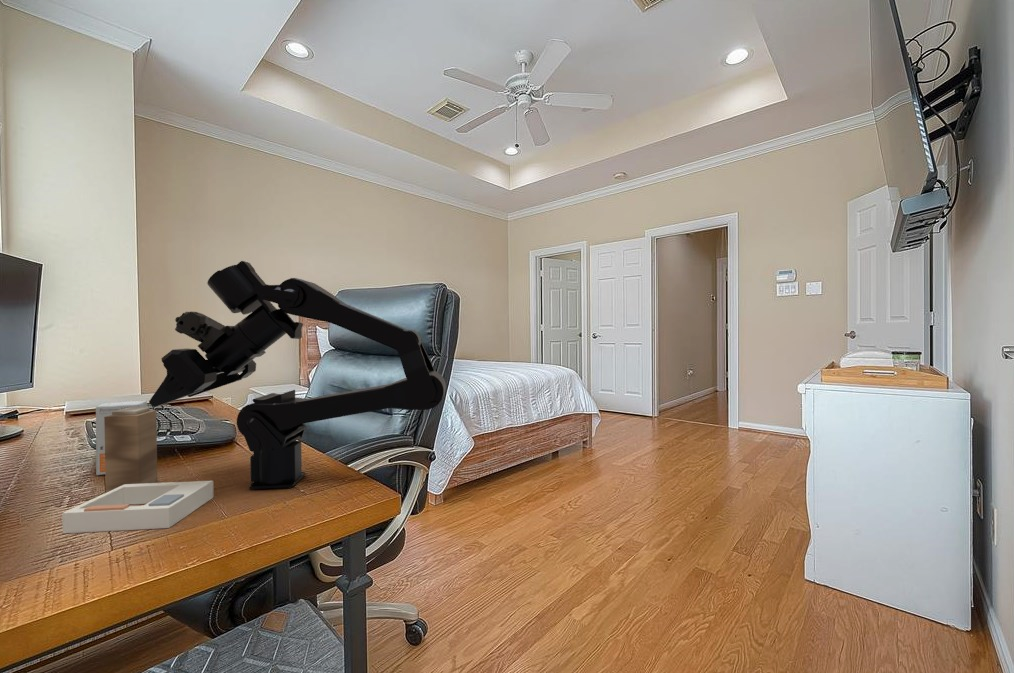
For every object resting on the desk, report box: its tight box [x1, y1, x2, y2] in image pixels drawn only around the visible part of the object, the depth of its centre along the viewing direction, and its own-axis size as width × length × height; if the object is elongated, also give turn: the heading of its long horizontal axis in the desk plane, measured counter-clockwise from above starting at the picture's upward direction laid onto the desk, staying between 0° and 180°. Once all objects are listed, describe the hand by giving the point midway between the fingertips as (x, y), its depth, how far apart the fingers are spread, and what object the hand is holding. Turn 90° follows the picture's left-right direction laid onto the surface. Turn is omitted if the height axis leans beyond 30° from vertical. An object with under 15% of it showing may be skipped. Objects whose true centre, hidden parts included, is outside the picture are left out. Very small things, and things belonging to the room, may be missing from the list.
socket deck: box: [61, 480, 214, 534], centre depth 59 cm, size 12×10×3 cm
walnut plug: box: [104, 406, 158, 493], centre depth 67 cm, size 4×4×13 cm
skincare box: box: [95, 400, 148, 476], centre depth 77 cm, size 6×4×12 cm
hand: (170, 399), depth 68 cm, fingers open, 9 cm apart
